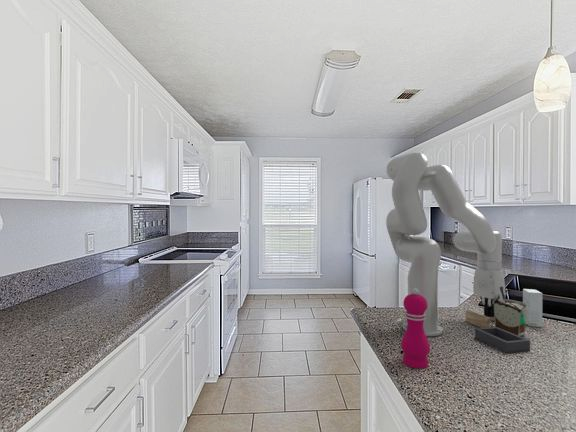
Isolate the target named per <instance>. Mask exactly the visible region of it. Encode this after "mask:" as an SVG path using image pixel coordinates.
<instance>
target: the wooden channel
mask: <svg viewBox="0 0 576 432" xmlns="http://www.w3.org/2000/svg"><path fill="white" fill-rule="evenodd" d="M491 321H493V322H495V317H487V316H484V314H483V315H482V314H480V313H477V312H475V311H472V310H470V309H467V310H465V322H467V323H469V324H472V325H474V326H476V327H477V328H488V327H491Z"/></svg>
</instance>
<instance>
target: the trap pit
mask: <svg viewBox="0 0 576 432" xmlns="http://www.w3.org/2000/svg"><path fill="white" fill-rule="evenodd" d="M474 338H475V339H476V340H477V341H481V342H482V343H485V344H486V345H489V346H491V347H493V348H495V349H496V350H499V351H501V352H503V353H505V354H512V353H513V354H514V353H523V352H530V351H531V340H529V339H528V338H525V337H520V336H518V335H515V334H513V333H510V332H508V331H505V330H503V329H500V328H498V327H495V326H490V327H488V328H481V327H477V328H474Z"/></svg>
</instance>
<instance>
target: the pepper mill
mask: <svg viewBox="0 0 576 432" xmlns="http://www.w3.org/2000/svg"><path fill="white" fill-rule="evenodd" d="M412 293H413V294H409V295H408V294H407V295H406V296H405V298H404V299H403V301H402V302H403V303H402V304H403V307H404V309H405V310H406V311H405V313H404V314H405V315H404V318H405V317H406V318H407V330H406V331H405V332H404V334H403V336H402V338H401V344H400V348H401V350H402V352H403V355H402V363H403V365H405V366H407V367H409V368H412V369H413V368H414V369H419V370H420V369H425V368H428V366H429V359H428V355H429V353H430V352H431V345H430V342H429V340H428V336H426V335H425V332H424V328H423V322H424V320H425V319H426V318H425V315H426V314H425V313H424V312H425V311H426V309H427V307H428V304H427V300H426V299H425V298H424V297H423V296H422V295H419V290H418V289H416V288H414V289H413V290H412Z"/></svg>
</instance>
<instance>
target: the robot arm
mask: <svg viewBox="0 0 576 432" xmlns="http://www.w3.org/2000/svg"><path fill="white" fill-rule="evenodd" d="M387 163H388V164H387V165H386V174H387V176H388V178H389V179H390V180H391V181H393V182H392V187H391V198H392V201H393V206H394V208H393V209H392V210H390V211H389V212H388V214H387V216H386V220H385V222H386V223H385V224H386V229H387V233H388V236H389V239H390V242H391V245H392V248H393V250H394V253H395V254H396V257H397V258H399V259H400V260H401V261H403V262H407V263H411V264H410V267H409V269H408V274H407V295H409V294H413V293H412V290H413V289H414V288H416V289H418V290H419V295H422V296H423V297H424V298H425V299H426V300H427V304H428V307H427V309H426V311H425V312H424V313H425V314H426V315H425V318H426V319H425V320H424V322H423V328H424V332H425V335H426V337H438V336H440V335H442V334H443V332H444V329H443V327H442V326H440V325H439V311H438V310H439V308H438V307H439V305H438V304H439V291H438V290H439V283H438V282H439V278H438V277H439V268H440V263H441V257H442V250H441V247H440V245H439V243H438V242H437V241H436V240H434V239H432V238H429V237H424V236H420V235H422V234H424V233H425V232H426V231H427V228H428V219H427V216H426V213H425V209H424V207H423V204H422V199H421V196H420V191H422V192H423V191H424V192H425V191H430V192H431V194H432V196H433V197H434V199H435V201H436V204H437V205H438V207H439V208H440V210H441V213H442V214H444V215H445V216H448V217H449V218H451V219H453V220H456V221H458V222H459V223H461V224H462V225H463V226H464V227H465V228H467V230H461V231H459V232H457V233H456V234H454V237H453V244H454V247H455V248H456V249H457V250H460V251H463V252H467V253H468V252H469V253H476V255H477V257H476V258H477V259H476V264H477V265H476V266H477V267H475V270H474V275H473V285H472V286H473V287H472V288H473V293H474V294H475V295H476V296H477V297H478V298H479V299H480V300H481V303H482V304H483V316H485V317H488V318H489V317H495V316H494V304H492V302H493V299H497V301H499V302H503V299H505V297H506V283H505V275H504V271H503V265H502V264H503V263H502V262H503V259H502V258H503V255H502V254H503V251H502V250H503V248H502V245H503V241H502V240H503V238H502V237H503V236H502V233H501V232H500V231H498V230H497V231H496V230H493V228H492V226H491V224H490V223H489V221H488V219H487V218H486V217H485V215H483V214H482V213H481V212H480V211H479V210H478V209H476V208H475V207H474V206H473V205H472V204H470V203H469V202H468V201H467V199H466V198H465V196H464V194H463V192H462V190H461V188H460V186H459V184H458V181H457V179H456V177H455V175H454V174H453V171H452V170H451V168H450V167H449V166H447V165H444V164H436V165H431V166H429V165H428V164H429V163H428V158H427V156H426V155H425V154H423V153H421V152H410V153H407V154H404V155H401V156H398V157H395V158H393V159H391V160H390V161H389V162H387ZM418 235H419V236H418ZM394 325H395V326H402V328H403V330H404V331H405V332H406V330H407V318H406V317H405V316H404V317H403V318H402V319H401V318H396V319H394Z"/></svg>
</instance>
